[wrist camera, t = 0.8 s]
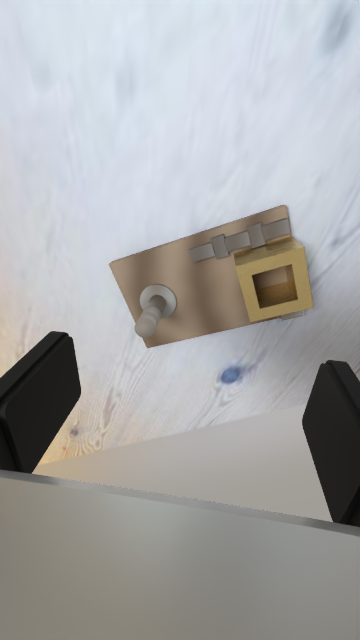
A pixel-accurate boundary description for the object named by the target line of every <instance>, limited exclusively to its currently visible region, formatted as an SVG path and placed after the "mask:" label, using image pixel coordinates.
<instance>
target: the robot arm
mask: <svg viewBox="0 0 360 640" xmlns="http://www.w3.org/2000/svg"><path fill="white" fill-rule="evenodd" d="M80 395H81V386H80V380H79V374H78V368H77V362H76V356H75V349H74V343H73V339H72V337H69V335H68V333H65V332H56V331H51V332H50V333H48V334H47V335H46V336H45V337H44V338H43V339H42V340H41V341H40V342H39V343H38V344H37V345H36V346H34V347H33V348H32V349H31V350H30V351H29V352H28V353H27V354H26V355H25V356H24V357H23V358H21V359H20V360H19V361H18V362H17V363H16V364H15V365H14V366H13V367H12V368H11V369H10V370H9V371H7V372H6V373H5V374H4V375H3V376H2V377H1V378H0V640H360V381H359V380H358V378H357V377H356V375H355V374H354V372H353V371H352V369H351V368H350V366H349V365H348V363H347V362H343V361H333V360H328V361H327V362H326V363H325V364H321V365H320V367H319V370H318V373H317V376H316V379H315V382H314V385H313V388H312V391H311V394H310V397H309V400H308V403H307V406H306V409H305V412H304V415H303V419H302V425H303V429H304V433H305V436H306V439H307V442H308V445H309V448H310V452H311V454H312V458H313V461H314V464H315V467H316V470H317V474H318V477H319V480H320V483H321V486H322V489H323V492H324V496H325V499H326V502H327V505H328V508H329V511H330V515H331V518H332V520H333V522H328V521H322V520H317V519H312V518H306V517H300V516H295V515H289V514H283V513H276V512H270V511H264V510H258V509H252V508H246V507H240V506H233V505H228V504H221V503H216V502H210V501H202V500H197V499H191V498H184V497H178V496H172V495H165V494H159V493H152V492H147V491H140V490H133V489H128V488H121V487H115V486H108V485H101V484H95V483H89V482H81V481H76V480H69V479H62V478H55V477H48V476H42V475H36V474H31V473H32V472H33V471H34V469H35V468H36V466H37V464H38V463H39V461H40V460H41V458H42V457H43V455H44V453H45V452H46V450H47V449H48V447H49V445H50V444H51V442H52V441H53V439H54V438H55V436H56V434H57V433H58V431H59V430H60V428H61V426H62V425H63V423H64V422H65V420H66V419H67V417H68V415H69V414H70V412H71V411H72V409H73V407H74V406H75V404H76V403H77V401H78V400H79V398H80Z"/></svg>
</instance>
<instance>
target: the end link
mask: <svg viewBox="0 0 360 640" xmlns="http://www.w3.org/2000/svg"><path fill="white" fill-rule="evenodd" d="M234 260H235V267H236V271H237V274H238V278H239V282H240V286H241V289H242V293H243V297H244V301H245V304H246V308H247V312H248V316H249V320H250V322H253V321H258V320H262V319H266V318H271V317H275V316H279V315H284V314H288V313H292V312H296V311H301V310H305V309H309V308H313V302H312V295H311V289H310V283H309V276H308V270H307V264H306V257H305V251H304V247H303V246H302V245H301V244H300V243H299V242H298V241H297V240H296V239H295V238H293V237H292V236H289V237H285V238H282V239H279V240H275V241H272V242H269V243H265V245H262V246H259V247H255V248H249V249H245V250H242V251H239V252H235V253H234ZM283 266H285V271H286V277H287V282H284V283H280V284H276V285H272V286H269V287H265V288H261V289H257V290H255V288H254V284H253V279H252V275H253V274H257V273H261V272H264V271H268V270H272V269H275V268H279V267H283Z"/></svg>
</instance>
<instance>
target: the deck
mask: <svg viewBox="0 0 360 640" xmlns="http://www.w3.org/2000/svg"><path fill="white" fill-rule="evenodd" d="M289 236H291V230H290V224H289V219H288V213H287V207H286V205H281V206H278V207H275V208H272V209H269V210H266V211H263V212H260V213H257V214H254V215H251V216H248V217H245V218H242V219H239V220H236V221H233V222H230V223H227V224H223V225H220V226H217V227H214V228H211V229H208V230H205V231H202V232H199V233H196V234H193V235H190V236H187V237H184V238H181V239H178V240H175V241H172V242H169V243H166V244H163V245H160V246H157V247H154V248H151V249H148V250H145V251H142V252H139V253H136V254H133V255H130V256H127V257H124V258H121V259H118V260H115V261H112V262H111V263H110V264H109V266H110V268H111V270H112V273H113V275H114V277H115V279H116V281H117V284H118V286H119V288H120V290H121V292H122V294H123V297H124V299H125V301H126V303H127V305H128V308H129V310H130V312H131V314H132V316H133V319H134V321H135V323H136V325H135V331H136V333H137V334H138V335H139V336H140V337H142V338H143V340H144V343H145V345H146V347H147V348H150V347H155V346H159V345H163V344H168V343H172V342H177V341H181V340H185V339H190V338H194V337H198V336H203V335H207V334H211V333H216V332H220V331H224V330H229V329H233V328H237V327H242V326H246V325H251V324H255V323H259V322H264V321H268V320H272V319H277V318H282V320H286V319H290V318H295V317H299V316H304V315H305V311H304V310H301V311H296V312H292V313H288V314H284V315H279V316H275V317H271V318H266V319H262V320H258V321H253V322H250V320H249V316H248V312H247V308H246V304H245V301H244V297H243V293H242V289H241V286H240V282H239V278H238V274H237V271H236V267H235V260H234V253H235V252H239V251H242V250H245V249H249V248H255V247H259V246H262V245H265V243H269V242H272V241H275V240H279V239H282V238H285V237H289ZM252 279H253V284H254V288H255V290H257V289H261V288H265V287H269V286H272V285H276V284H280V283H284V282H287V277H286V271H285V266H283V267H279V268H275V269H272V270H268V271H264V272H261V273H257V274H253V275H252Z"/></svg>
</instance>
